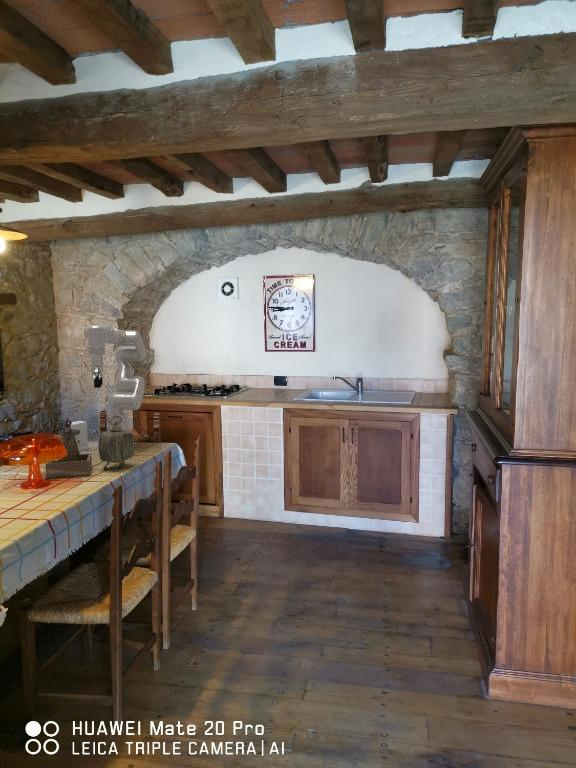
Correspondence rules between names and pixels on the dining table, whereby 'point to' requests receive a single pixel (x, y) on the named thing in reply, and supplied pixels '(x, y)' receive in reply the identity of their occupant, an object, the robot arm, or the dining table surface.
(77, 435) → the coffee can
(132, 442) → the tabletop clock
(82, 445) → the skincare box
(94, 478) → the dining table surface
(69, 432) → the brown tall tapered piece
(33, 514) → the dining table surface
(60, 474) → the walled box
